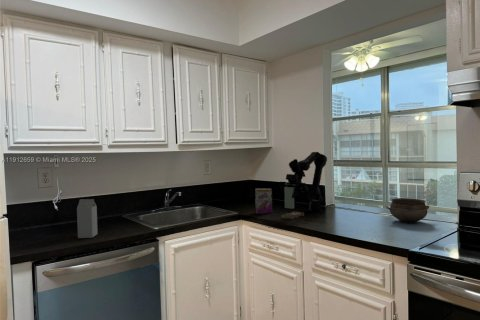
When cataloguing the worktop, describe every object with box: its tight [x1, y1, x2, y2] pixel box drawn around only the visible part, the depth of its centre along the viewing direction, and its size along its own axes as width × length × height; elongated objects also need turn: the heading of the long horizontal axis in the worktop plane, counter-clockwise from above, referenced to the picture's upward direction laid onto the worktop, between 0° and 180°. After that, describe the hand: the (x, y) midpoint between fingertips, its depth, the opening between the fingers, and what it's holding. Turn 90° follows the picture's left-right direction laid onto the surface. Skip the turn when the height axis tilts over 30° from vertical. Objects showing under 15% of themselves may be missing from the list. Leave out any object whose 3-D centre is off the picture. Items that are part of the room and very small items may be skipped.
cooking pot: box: [386, 197, 430, 224], centre depth 181 cm, size 25×19×12 cm
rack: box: [281, 211, 305, 220], centre depth 198 cm, size 13×8×2 cm, turn 138°
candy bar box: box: [254, 188, 273, 215], centre depth 214 cm, size 11×5×16 cm, turn 84°
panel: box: [283, 187, 295, 210], centre depth 195 cm, size 2×6×12 cm, turn 48°
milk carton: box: [76, 198, 98, 239], centre depth 164 cm, size 7×7×19 cm
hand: (288, 197), depth 194 cm, fingers closed on panel, 5 cm apart
